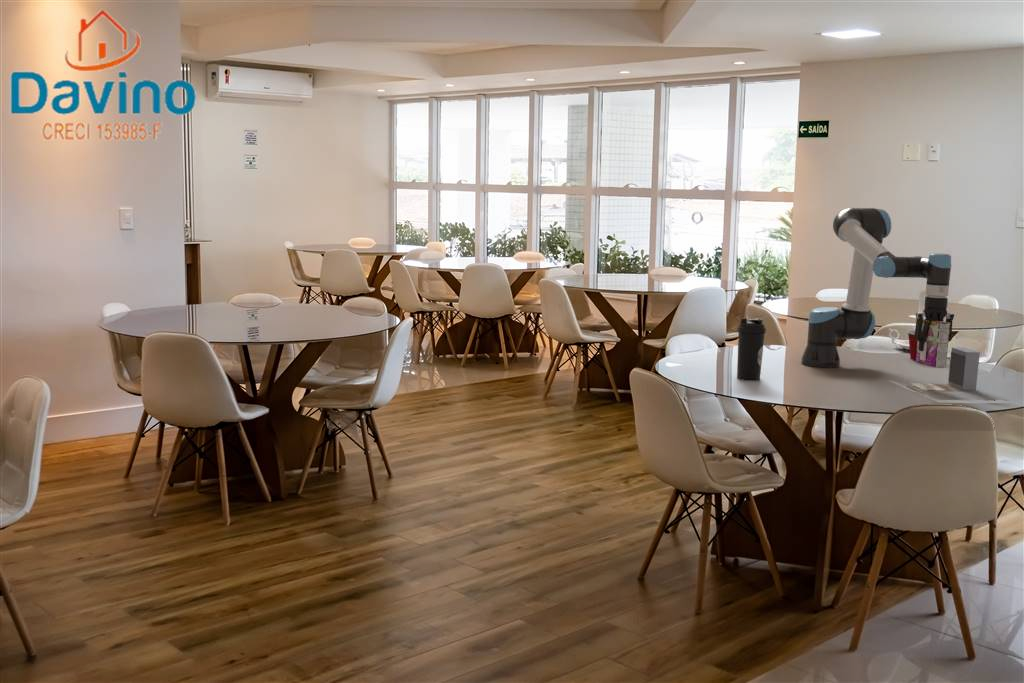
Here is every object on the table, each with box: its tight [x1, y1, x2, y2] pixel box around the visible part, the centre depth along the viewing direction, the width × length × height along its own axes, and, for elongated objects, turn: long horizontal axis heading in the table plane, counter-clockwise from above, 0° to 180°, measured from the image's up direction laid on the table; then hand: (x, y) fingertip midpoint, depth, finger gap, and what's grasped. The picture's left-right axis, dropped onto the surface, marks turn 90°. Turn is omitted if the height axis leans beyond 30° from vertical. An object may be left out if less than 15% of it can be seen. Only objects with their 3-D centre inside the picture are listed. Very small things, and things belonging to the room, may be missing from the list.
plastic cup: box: [907, 330, 917, 361], centre depth 427 cm, size 11×11×12 cm
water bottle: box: [736, 316, 767, 382], centre depth 374 cm, size 10×10×23 cm
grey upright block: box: [947, 347, 981, 390], centre depth 363 cm, size 5×10×14 cm, turn 5°
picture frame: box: [906, 382, 980, 395], centre depth 364 cm, size 21×13×1 cm, turn 95°
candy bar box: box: [914, 318, 950, 369], centre depth 360 cm, size 11×5×16 cm, turn 16°
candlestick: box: [888, 289, 927, 351], centre depth 451 cm, size 21×25×28 cm
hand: (930, 359), depth 361 cm, fingers closed on candy bar box, 6 cm apart
